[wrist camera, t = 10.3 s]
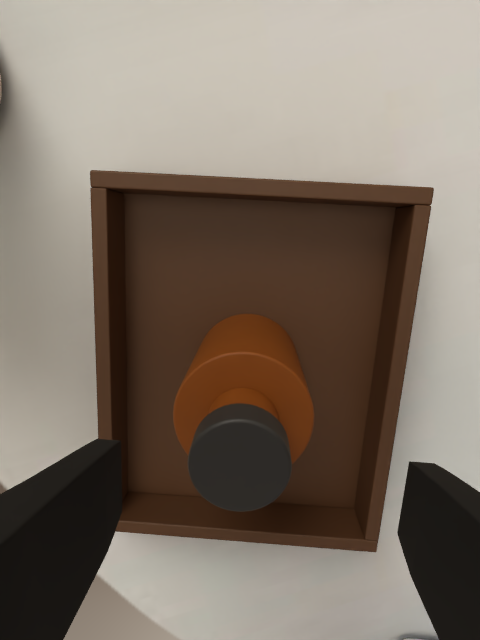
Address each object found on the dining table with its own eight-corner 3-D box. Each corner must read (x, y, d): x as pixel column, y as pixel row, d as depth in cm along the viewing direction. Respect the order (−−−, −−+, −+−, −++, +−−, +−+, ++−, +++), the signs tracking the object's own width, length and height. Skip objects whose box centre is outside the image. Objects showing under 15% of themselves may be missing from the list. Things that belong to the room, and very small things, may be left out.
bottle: (292, 410, 18) (319, 549, 10) (197, 403, 18) (150, 536, 10) (301, 316, 17) (339, 391, 9) (200, 310, 17) (151, 378, 9)
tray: (361, 511, 20) (376, 553, 17) (120, 492, 20) (100, 531, 17) (406, 194, 16) (434, 187, 14) (115, 178, 16) (89, 169, 14)
